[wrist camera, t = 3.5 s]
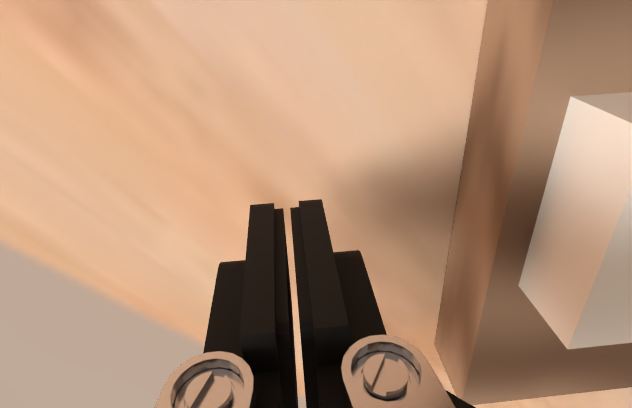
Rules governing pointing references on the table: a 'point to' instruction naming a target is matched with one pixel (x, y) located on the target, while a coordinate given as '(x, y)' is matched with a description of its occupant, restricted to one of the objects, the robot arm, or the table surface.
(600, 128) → the ivory tile
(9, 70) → the table surface
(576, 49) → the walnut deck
